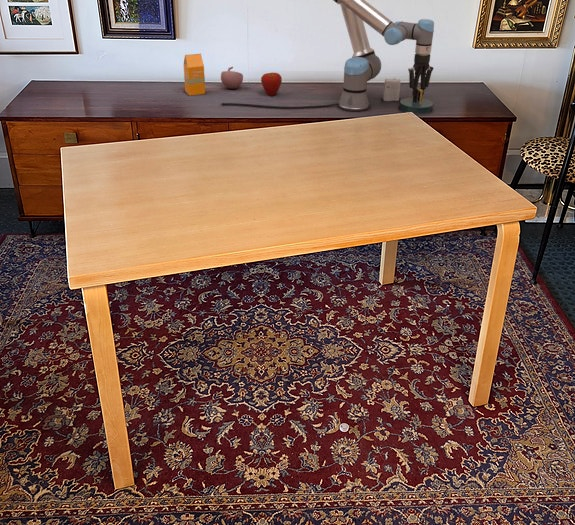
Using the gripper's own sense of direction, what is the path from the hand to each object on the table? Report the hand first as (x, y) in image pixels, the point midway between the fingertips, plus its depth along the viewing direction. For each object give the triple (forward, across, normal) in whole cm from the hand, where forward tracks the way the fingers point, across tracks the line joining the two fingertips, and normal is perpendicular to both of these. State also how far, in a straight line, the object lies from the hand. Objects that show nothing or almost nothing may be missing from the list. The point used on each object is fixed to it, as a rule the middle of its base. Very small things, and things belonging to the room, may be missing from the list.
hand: (417, 101), depth 318 cm
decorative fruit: (+3, -76, +65) cm, 100 cm away
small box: (+4, -4, +18) cm, 19 cm away
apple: (+4, -60, +47) cm, 77 cm away
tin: (+4, 0, 0) cm, 4 cm away
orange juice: (+3, -97, +64) cm, 117 cm away
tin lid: (+1, 0, 0) cm, 1 cm away
